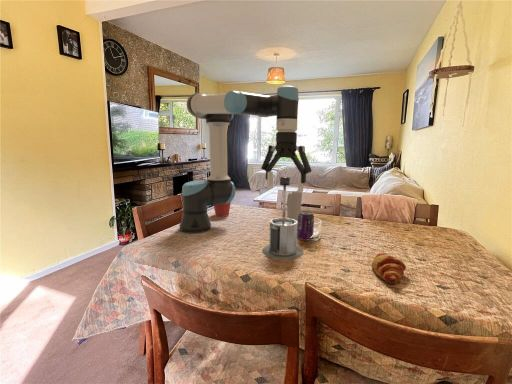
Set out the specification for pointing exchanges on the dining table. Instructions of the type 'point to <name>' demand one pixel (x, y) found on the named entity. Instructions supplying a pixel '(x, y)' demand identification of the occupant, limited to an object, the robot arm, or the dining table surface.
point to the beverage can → (305, 225)
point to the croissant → (388, 267)
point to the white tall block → (294, 205)
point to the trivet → (267, 253)
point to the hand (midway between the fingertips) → (284, 190)
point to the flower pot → (222, 209)
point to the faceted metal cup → (283, 238)
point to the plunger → (284, 199)
